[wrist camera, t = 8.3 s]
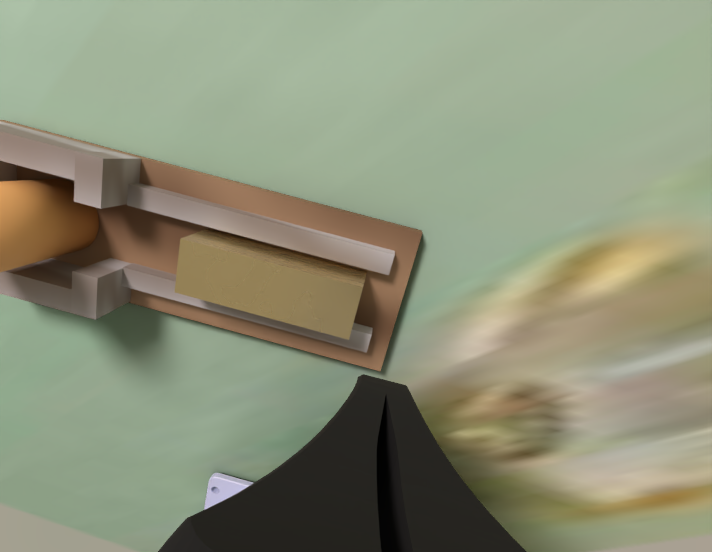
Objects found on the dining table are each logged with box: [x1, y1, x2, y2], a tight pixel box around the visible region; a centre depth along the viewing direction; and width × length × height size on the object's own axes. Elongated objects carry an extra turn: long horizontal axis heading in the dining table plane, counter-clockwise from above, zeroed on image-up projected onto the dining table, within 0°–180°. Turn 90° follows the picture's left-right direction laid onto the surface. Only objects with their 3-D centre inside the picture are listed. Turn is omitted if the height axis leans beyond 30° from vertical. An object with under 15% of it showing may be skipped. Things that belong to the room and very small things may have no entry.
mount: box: [0, 120, 422, 371], centre depth 19 cm, size 8×21×3 cm, turn 76°
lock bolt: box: [175, 229, 367, 340], centre depth 18 cm, size 2×8×2 cm, turn 76°
